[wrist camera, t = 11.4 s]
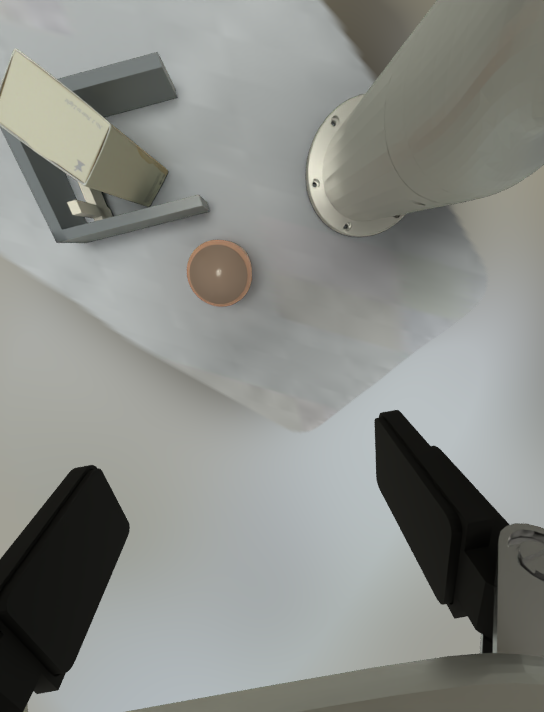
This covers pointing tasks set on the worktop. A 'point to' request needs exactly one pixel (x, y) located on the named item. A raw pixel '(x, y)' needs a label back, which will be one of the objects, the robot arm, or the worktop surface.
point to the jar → (219, 272)
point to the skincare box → (74, 134)
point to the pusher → (90, 205)
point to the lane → (108, 97)
